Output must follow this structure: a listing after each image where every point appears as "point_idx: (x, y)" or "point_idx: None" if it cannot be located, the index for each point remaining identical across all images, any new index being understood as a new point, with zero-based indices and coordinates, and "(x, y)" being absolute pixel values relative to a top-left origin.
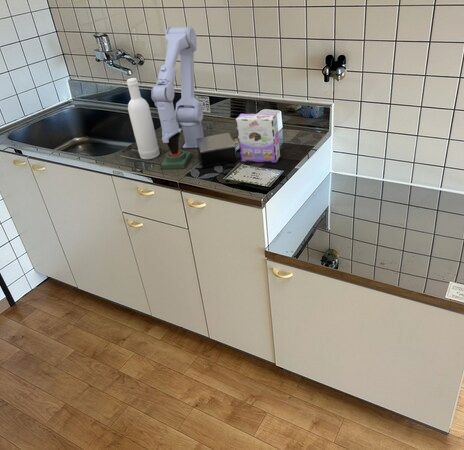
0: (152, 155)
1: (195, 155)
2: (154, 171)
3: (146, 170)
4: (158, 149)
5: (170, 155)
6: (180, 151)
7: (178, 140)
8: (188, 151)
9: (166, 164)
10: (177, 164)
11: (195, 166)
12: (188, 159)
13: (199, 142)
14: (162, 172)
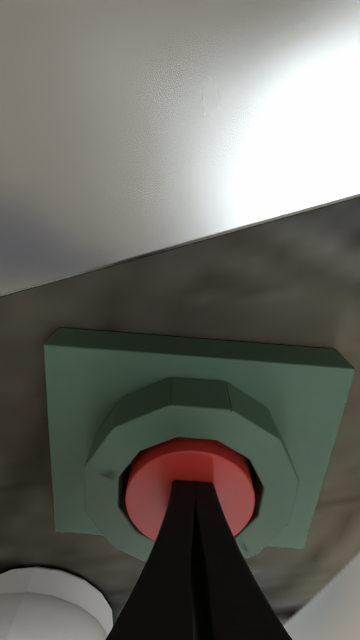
0: (95, 615)
1: (63, 290)
2: (317, 548)
3: (284, 592)
4: (21, 612)
5: (235, 531)
6: (159, 459)
7: (146, 619)
8: (47, 371)
9: (310, 511)
10: (337, 426)
11: (325, 251)
12: (186, 343)
13: (174, 197)
14: (353, 500)
